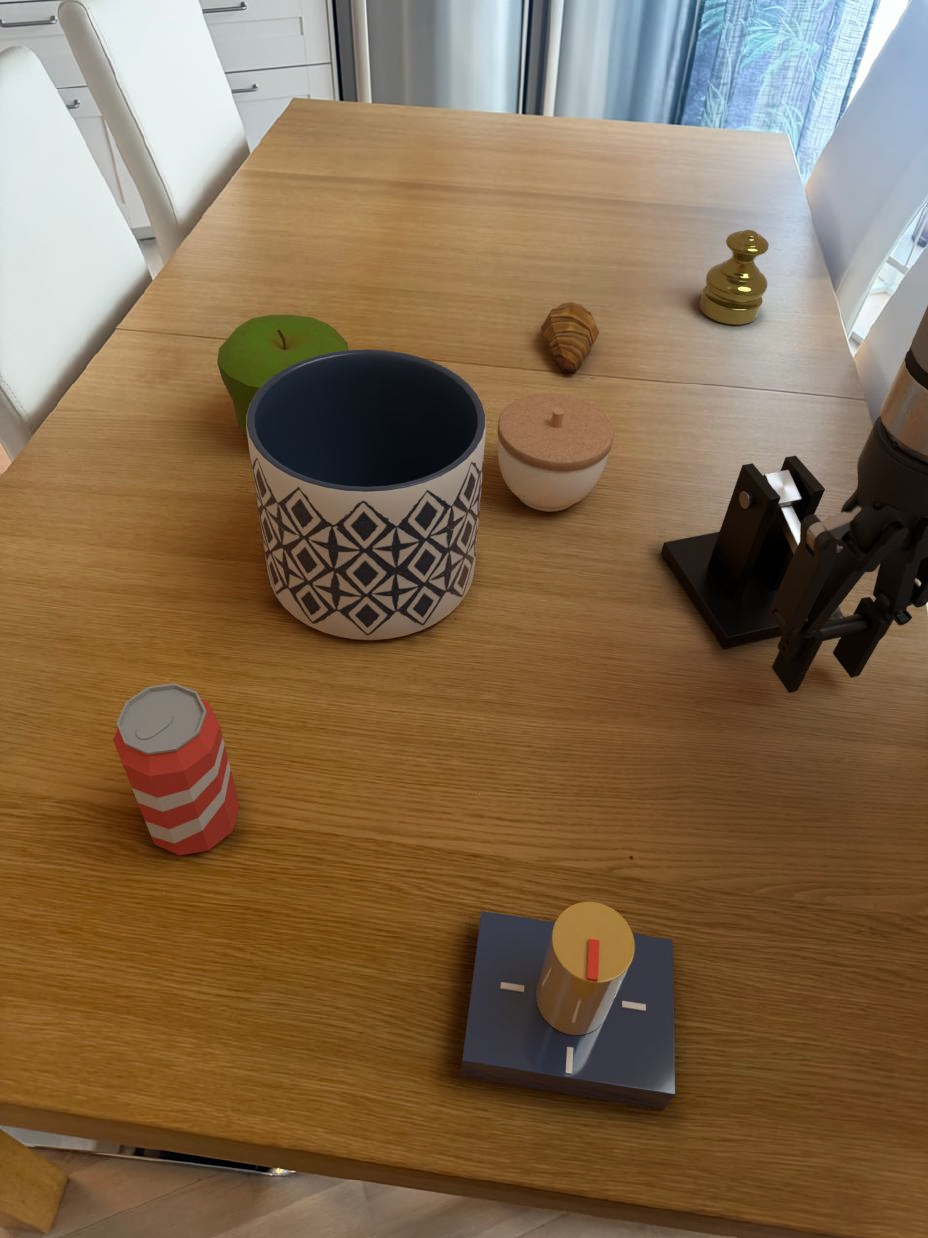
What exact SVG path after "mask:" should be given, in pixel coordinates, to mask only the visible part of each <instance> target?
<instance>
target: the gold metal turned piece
mask: <svg viewBox="0 0 928 1238" xmlns="http://www.w3.org/2000/svg"><path fill="white" fill-rule="evenodd" d="M725 243H726V246H727V248H728V249H729V250H730V251H731V257H730V258H728V259H726V260H724V261H722V262H721V263H718V264H716V265H714V266H712V267H711V268H710V269H709V270H708V271H707V272H706V276H705V286H704V287H703V288H702V294H701V298H700V301H699V308H700V311H701V312H702V313H703V314H704V316H706V317H707V318H709V319H711V320H713V321H715V322H717V323H721V324H724V325H730V326H731V325H733V326H734V325H735V326H740V325H741V326H742V325H746V324H750V323H752V322H753V321H755V320H756V319H757V318H758V315H759V314H760V313H759V312H760V309H761V306H762V304H763V302H764V301H763V296H764V295H765V293H766V292H767V289H768V280H767V278H766V276H765V274H764V273H762V271H760V268H759V267H758V266H757V264H756V263H755V260H756V258H758V257H759V256H762V255H764V254H765V253H766V252H767V251H768V250H769V246H770V245H769V242H768V240H767V239H766V238H765V237H763V236H762V235H761V234H759V233H758V232H756V231H755V230H752V229H744V230H740V231H735V232H732V233H730V234H728V235H727V237H726V240H725Z"/></svg>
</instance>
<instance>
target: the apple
mask: <svg viewBox="0 0 928 1238" xmlns="http://www.w3.org/2000/svg"><path fill="white" fill-rule="evenodd" d="M346 350H350V349H349V344H348V341H346V339H345V338H344V337H343V336H342V335H341V334H340V333H339V331H337V329H335V328H334V327H333V326H331V325H330V324H329V323H328V322H324V321H322V320H320V319H317V318H314V317H313V316H312V317H311V316H304V315H295V314H267V315H263V316H256V317H252V318H249V319H248V320H247V321H245V322H244V323H242V324H240V325H238V326H237V327H236V328H235V329H234V330H233V331H232V333H231V334H230V335H229V336H228V338H227V339H226V340H225V341H223V343H222V345H221V346H220V347H219V348H218V354H217V360H216V363H217V368H218V370H219V374H220V377H221V380H222V382H223V385H224V386H225V388H226V390H227V393H228V394H229V397H230V399H231V402H232V404H233V409H234V412H235V415H236V416H235V417H236V419H237V420H236V421H237V424H238V428H240V430H241V431H242V432H243V433H244V435H245V436H246V437H247V429H246V415H247V412H248V408H249V405H250V403H251V401H252V399H253V397H254V396H255V394H256V392H257V391H258V390H259V389H260V388H261V387H262V385H263V384H264V383H265V382H266V381H268V380H269V379H270V378H271V377H273V376H274V375H275V374H277V373H278V372H280V371H282V370H283V369H285V368H287V367H288V366H291V365H293V364H295V363H297V362H300V361H302V360H305V359H308V358H311V357H315V356H318V355H322V354H327V353H332V352H338V351H346Z"/></svg>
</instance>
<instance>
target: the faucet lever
mask: <svg viewBox="0 0 928 1238" xmlns="http://www.w3.org/2000/svg"><path fill="white" fill-rule="evenodd" d="M763 476H764V478H765V479H766V480H767V481H768V482H769V484H770V485H771V486H772V487H773V488H774V490H775V491H776V492H777V493H778V495H779V496H780V497H781V498H780V501H779V503H778V506H777V509H776V511H775V514H774V516H773V517H775V516H777V519H778V521H779V523H780V525H781V527H782V530H783V532H784V534H785V536H786V538H787V541H788V543H789V545H790V547H791V549H792V552H793V554H794V553H795V551H796V549H797V547H798V544H799V542H800V525H801V524H800V521H799V519H798V517H797V515H796V513H795V511H794V507H795V506H796V505H797V504H798V503H799V502H800V501H801V500H802V498H801V496H800V494H799V491H798V489H797V487H796V485H795V483H794V481H793V479H792V476H791V474H790V472H789V470H784V471H780V470H779V471H774V472H767V473H764V474H763ZM871 625H872V622H871V619H870V617H869V615H868V614H866V613H859V614H855V615H853V614H851V615H846V616H844V615H843V612H842V610H841V608H840V605H839V606H838V608H837V609H836V610H835V612H834V613H833V614H832V615H831V617H830V618H829V619H828V621H827V622H826V623H825V624H824V626H823V627H822V628H821V629H820V631H821V632H822V633H823V635H824V636H825V638H824V640H823V642H826V641H831V640H835V639H840V638H841V637H843V636H848V635H852V634H856V633H861V632H865V631H868V630H870V628H871Z"/></svg>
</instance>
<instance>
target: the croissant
mask: <svg viewBox="0 0 928 1238" xmlns="http://www.w3.org/2000/svg"><path fill="white" fill-rule="evenodd" d="M540 329H541V332H542V335H543V338H544V340H545V342H546V343H547V345H548V349H549V351H550V353H551V356H552V359H554V362H555V363H556V365H557V366H558V368H559V369H560V371H561V372H562V373H564V374H567V375H572V374H576V373H577V371H579V370H580V368H581V366H582V365H583V363H584V362H585V360H586V359H587V358H588V356H589V355H590V354H591V352H592V347H593V345H594V344H595V343H596V341H597V338H598V337H599V335H600V331H599V328H598V326H597V323H596V321H595V319H594V317H593V315H592V313H591V311H588V309H586V308H585V307H584V306H583V305H582V304H579V303H576V302H573V301H570V302H565V303H563V302H562V303H561V304H559V305H558V306H557V307H555V308H551V310H550V311H549V313H548V315H547V317H546V318H545V320H544V321H543V323H542V324H541V326H540Z"/></svg>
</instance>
